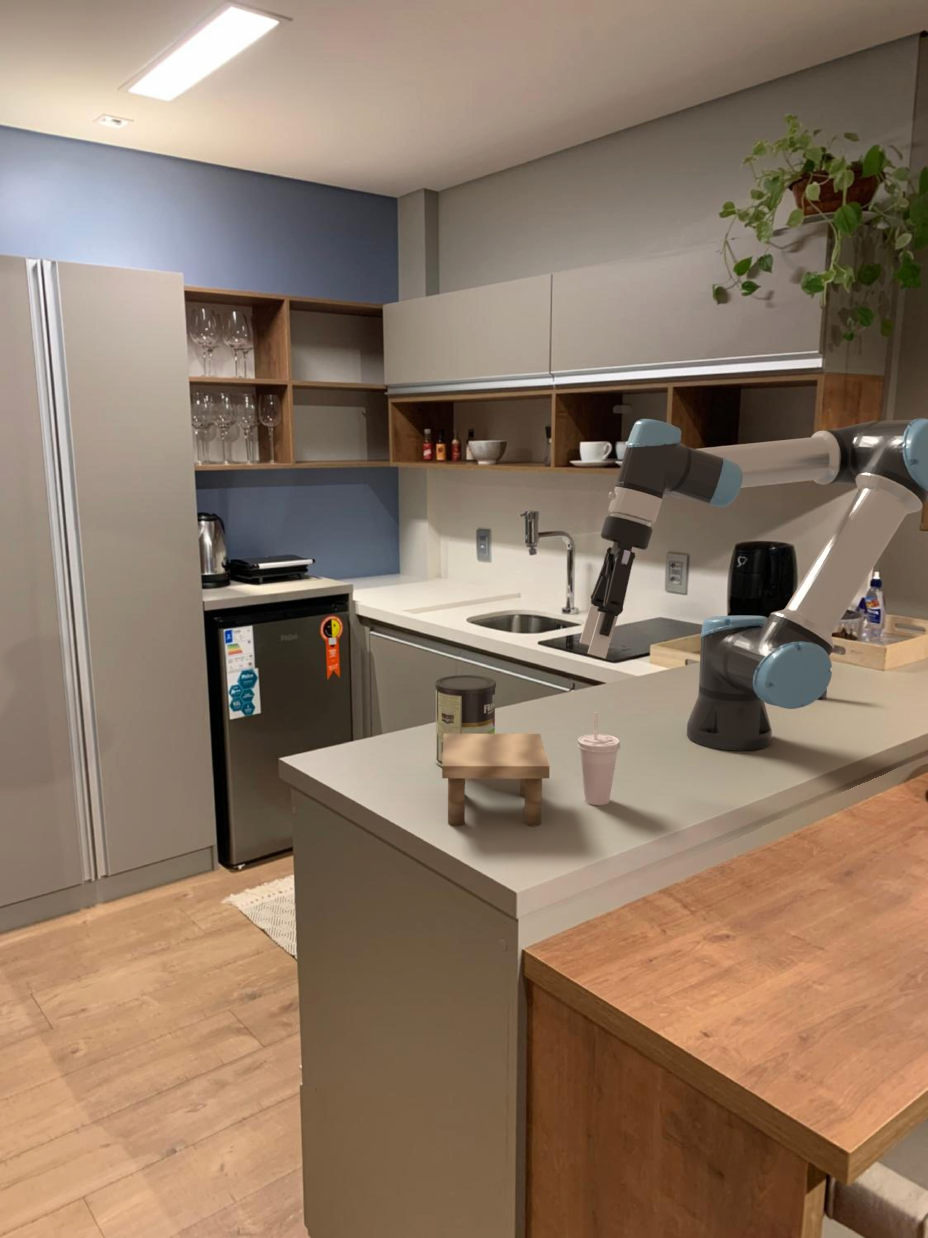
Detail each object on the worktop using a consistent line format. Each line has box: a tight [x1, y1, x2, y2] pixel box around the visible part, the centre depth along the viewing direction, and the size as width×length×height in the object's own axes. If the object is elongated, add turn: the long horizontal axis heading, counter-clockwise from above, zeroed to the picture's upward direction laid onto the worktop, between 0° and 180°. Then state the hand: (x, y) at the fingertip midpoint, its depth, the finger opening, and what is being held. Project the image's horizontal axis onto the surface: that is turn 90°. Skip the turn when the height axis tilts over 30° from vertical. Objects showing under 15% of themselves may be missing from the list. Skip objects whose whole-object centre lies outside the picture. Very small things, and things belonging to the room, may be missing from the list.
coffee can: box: [434, 674, 497, 768], centre depth 159 cm, size 10×10×14 cm
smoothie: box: [577, 711, 621, 806], centre depth 142 cm, size 6×6×14 cm
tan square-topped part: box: [441, 733, 551, 827], centre depth 139 cm, size 15×15×9 cm
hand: (591, 650), depth 148 cm, fingers open, 13 cm apart
